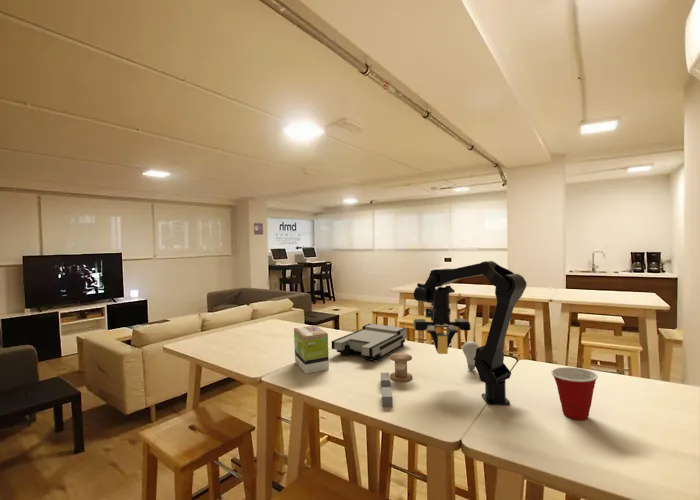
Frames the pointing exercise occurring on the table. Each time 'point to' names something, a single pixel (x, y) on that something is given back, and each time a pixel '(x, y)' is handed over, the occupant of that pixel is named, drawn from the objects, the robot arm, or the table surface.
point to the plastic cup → (575, 391)
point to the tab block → (442, 343)
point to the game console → (371, 341)
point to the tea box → (311, 349)
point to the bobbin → (401, 367)
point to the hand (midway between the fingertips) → (441, 348)
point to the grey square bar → (386, 390)
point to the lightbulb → (470, 353)
